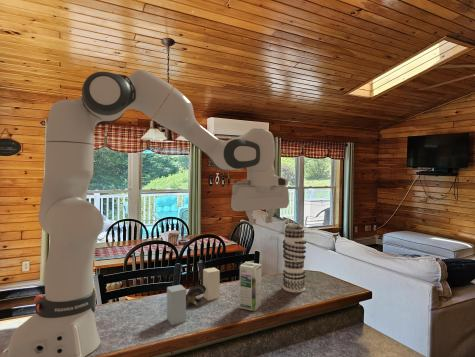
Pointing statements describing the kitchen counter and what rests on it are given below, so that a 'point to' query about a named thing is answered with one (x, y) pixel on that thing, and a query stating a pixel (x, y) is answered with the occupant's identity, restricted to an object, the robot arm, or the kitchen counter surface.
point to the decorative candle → (294, 258)
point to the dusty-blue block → (176, 304)
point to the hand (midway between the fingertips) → (260, 223)
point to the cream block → (211, 283)
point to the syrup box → (250, 286)
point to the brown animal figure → (194, 294)
